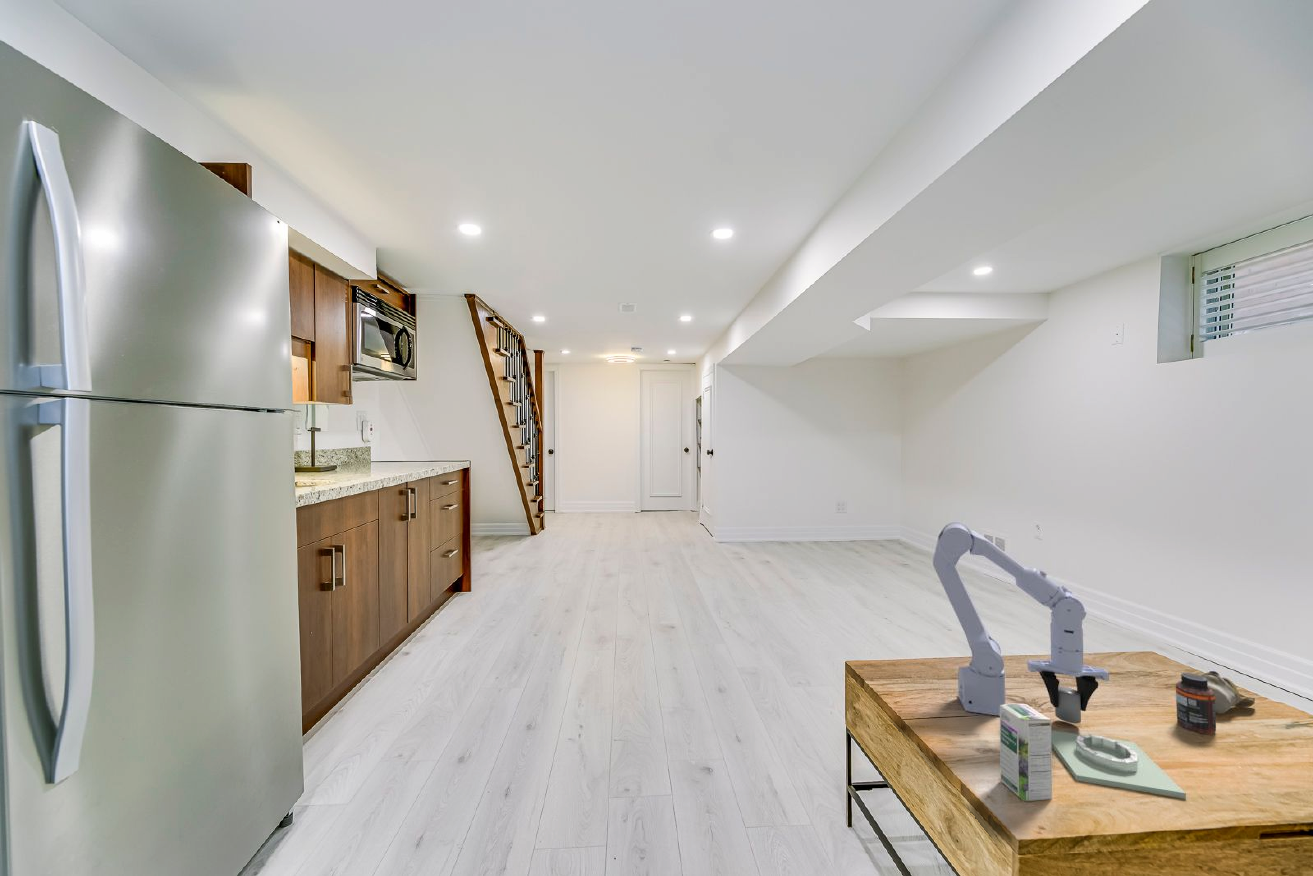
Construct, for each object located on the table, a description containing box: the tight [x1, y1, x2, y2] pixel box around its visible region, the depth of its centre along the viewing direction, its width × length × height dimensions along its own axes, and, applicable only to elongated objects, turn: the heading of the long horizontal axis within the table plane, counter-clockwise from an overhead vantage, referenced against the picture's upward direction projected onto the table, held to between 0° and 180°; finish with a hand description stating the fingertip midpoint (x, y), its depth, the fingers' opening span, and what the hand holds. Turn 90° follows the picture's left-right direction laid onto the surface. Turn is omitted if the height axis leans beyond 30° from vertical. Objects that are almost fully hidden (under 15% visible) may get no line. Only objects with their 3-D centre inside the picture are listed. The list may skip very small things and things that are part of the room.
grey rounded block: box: [1054, 685, 1082, 724], centre depth 113 cm, size 4×5×6 cm
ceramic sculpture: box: [1199, 670, 1256, 715], centre depth 120 cm, size 11×9×15 cm
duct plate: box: [1051, 729, 1187, 800], centre depth 99 cm, size 16×16×1 cm
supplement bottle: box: [1175, 672, 1217, 735], centre depth 111 cm, size 6×6×11 cm
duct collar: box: [1076, 733, 1139, 773], centre depth 99 cm, size 9×9×2 cm
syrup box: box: [999, 702, 1053, 802], centre depth 92 cm, size 6×6×14 cm
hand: (1067, 707), depth 113 cm, fingers closed on grey rounded block, 4 cm apart
